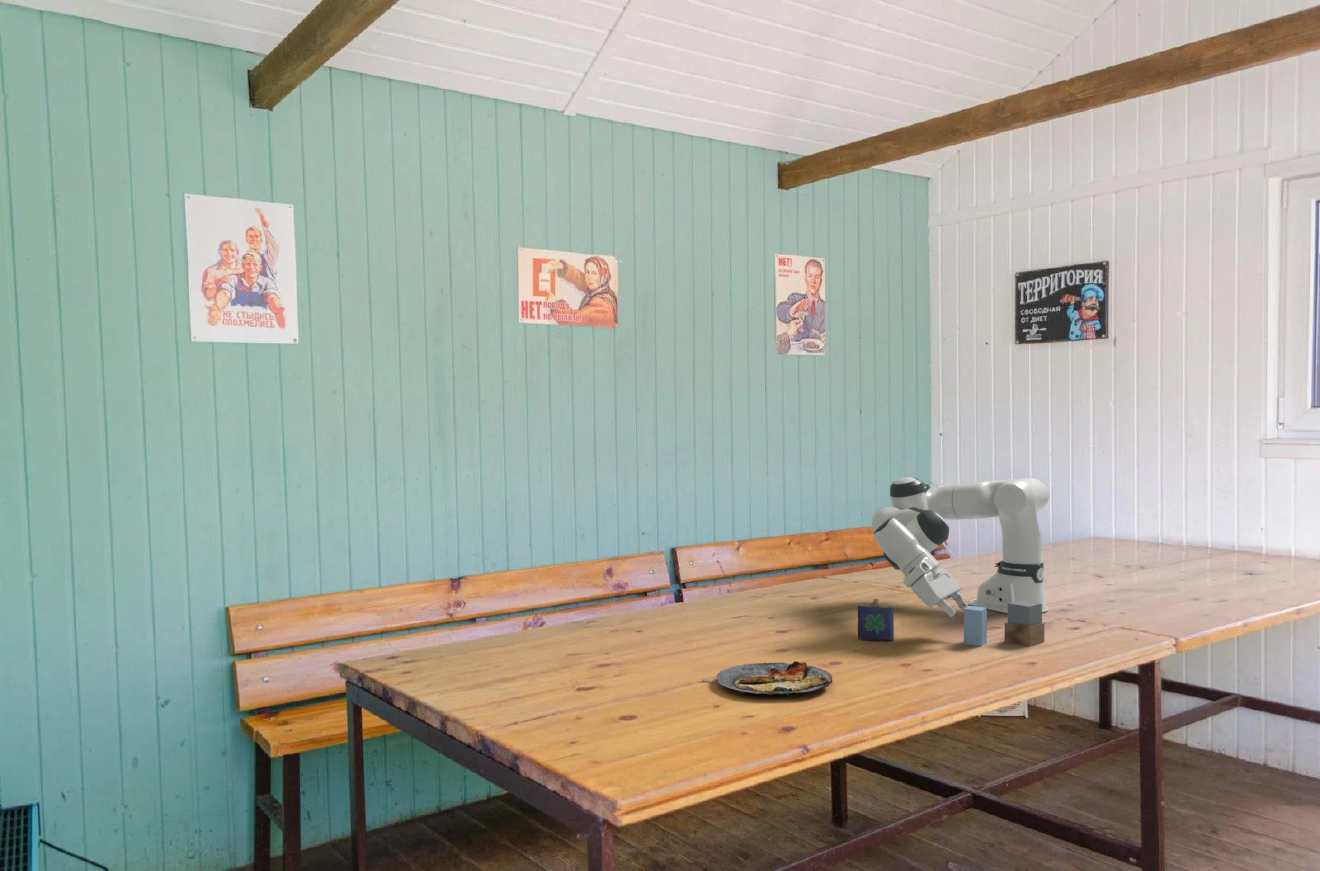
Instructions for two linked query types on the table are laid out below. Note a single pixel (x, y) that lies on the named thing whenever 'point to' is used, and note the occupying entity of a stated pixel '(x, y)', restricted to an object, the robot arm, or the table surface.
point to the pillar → (975, 625)
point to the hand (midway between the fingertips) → (960, 611)
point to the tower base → (1024, 634)
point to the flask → (875, 622)
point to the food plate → (775, 678)
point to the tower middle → (1024, 613)
